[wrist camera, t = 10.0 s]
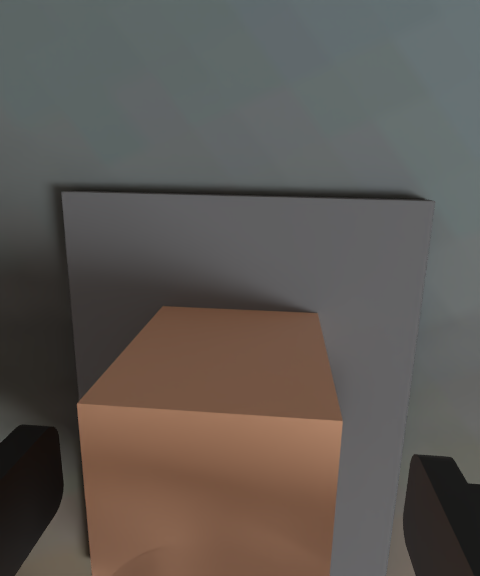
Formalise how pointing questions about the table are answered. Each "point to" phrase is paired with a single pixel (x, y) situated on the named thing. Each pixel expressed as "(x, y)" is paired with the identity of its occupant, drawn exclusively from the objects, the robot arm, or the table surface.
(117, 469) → the plug
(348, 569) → the mat
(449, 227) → the table surface
